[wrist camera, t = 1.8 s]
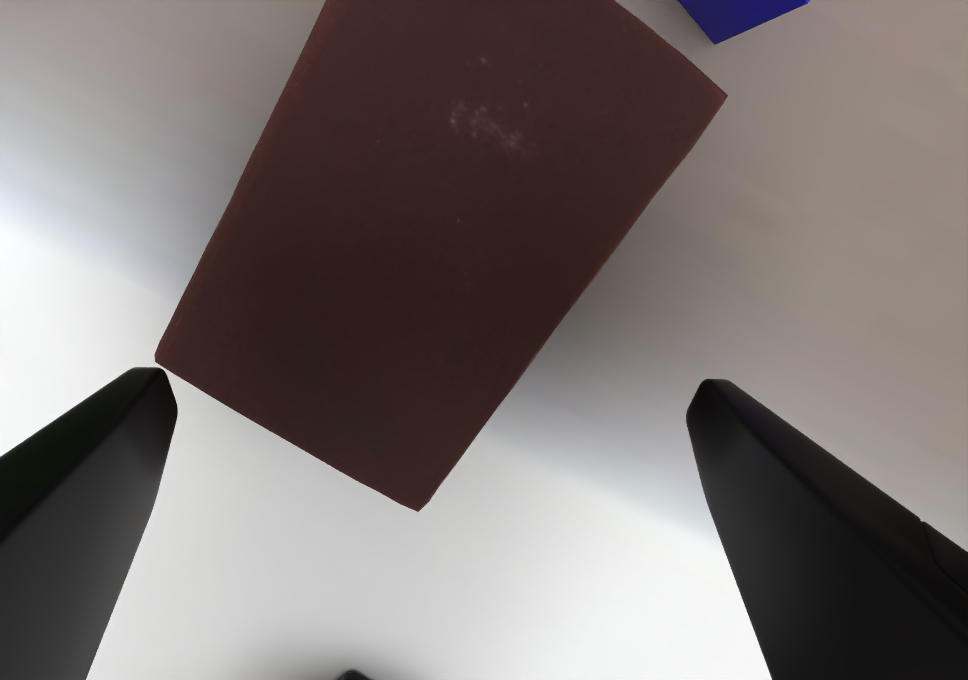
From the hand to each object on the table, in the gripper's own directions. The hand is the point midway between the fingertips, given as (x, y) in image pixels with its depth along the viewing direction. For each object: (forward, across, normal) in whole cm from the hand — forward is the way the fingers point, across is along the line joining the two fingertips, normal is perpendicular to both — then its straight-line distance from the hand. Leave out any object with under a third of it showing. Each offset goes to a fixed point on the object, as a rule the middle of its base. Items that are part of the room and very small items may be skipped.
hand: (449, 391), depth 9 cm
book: (+13, 0, +4) cm, 14 cm away
